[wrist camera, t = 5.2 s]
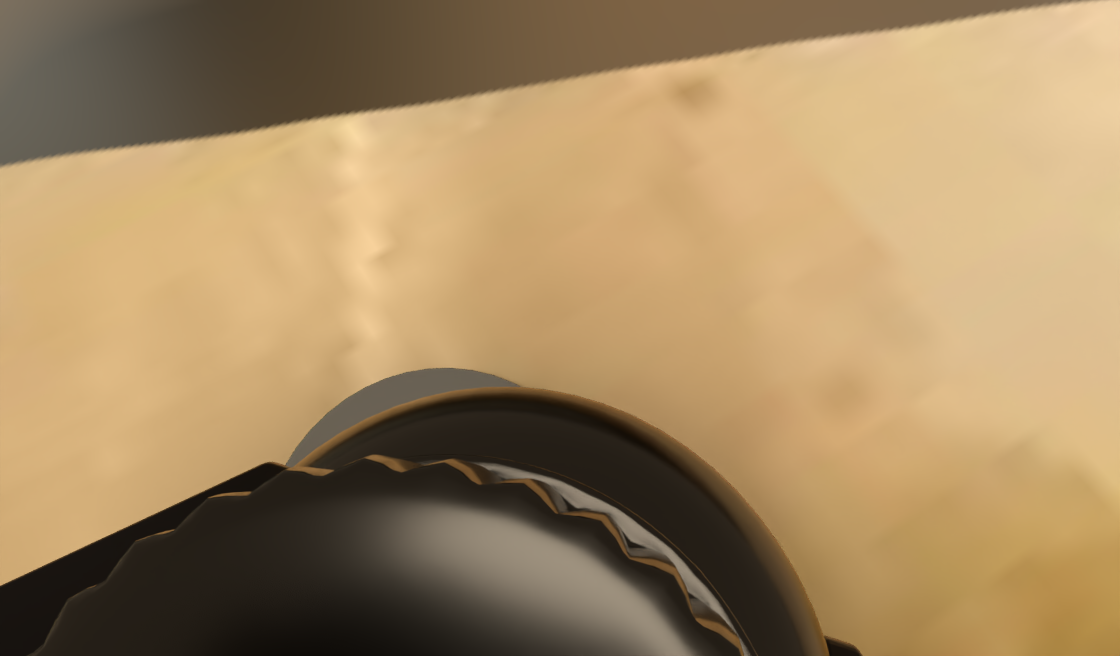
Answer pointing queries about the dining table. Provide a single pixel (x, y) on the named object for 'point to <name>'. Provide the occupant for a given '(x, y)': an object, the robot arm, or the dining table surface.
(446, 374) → the coaster
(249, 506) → the supplement bottle
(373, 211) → the dining table surface
